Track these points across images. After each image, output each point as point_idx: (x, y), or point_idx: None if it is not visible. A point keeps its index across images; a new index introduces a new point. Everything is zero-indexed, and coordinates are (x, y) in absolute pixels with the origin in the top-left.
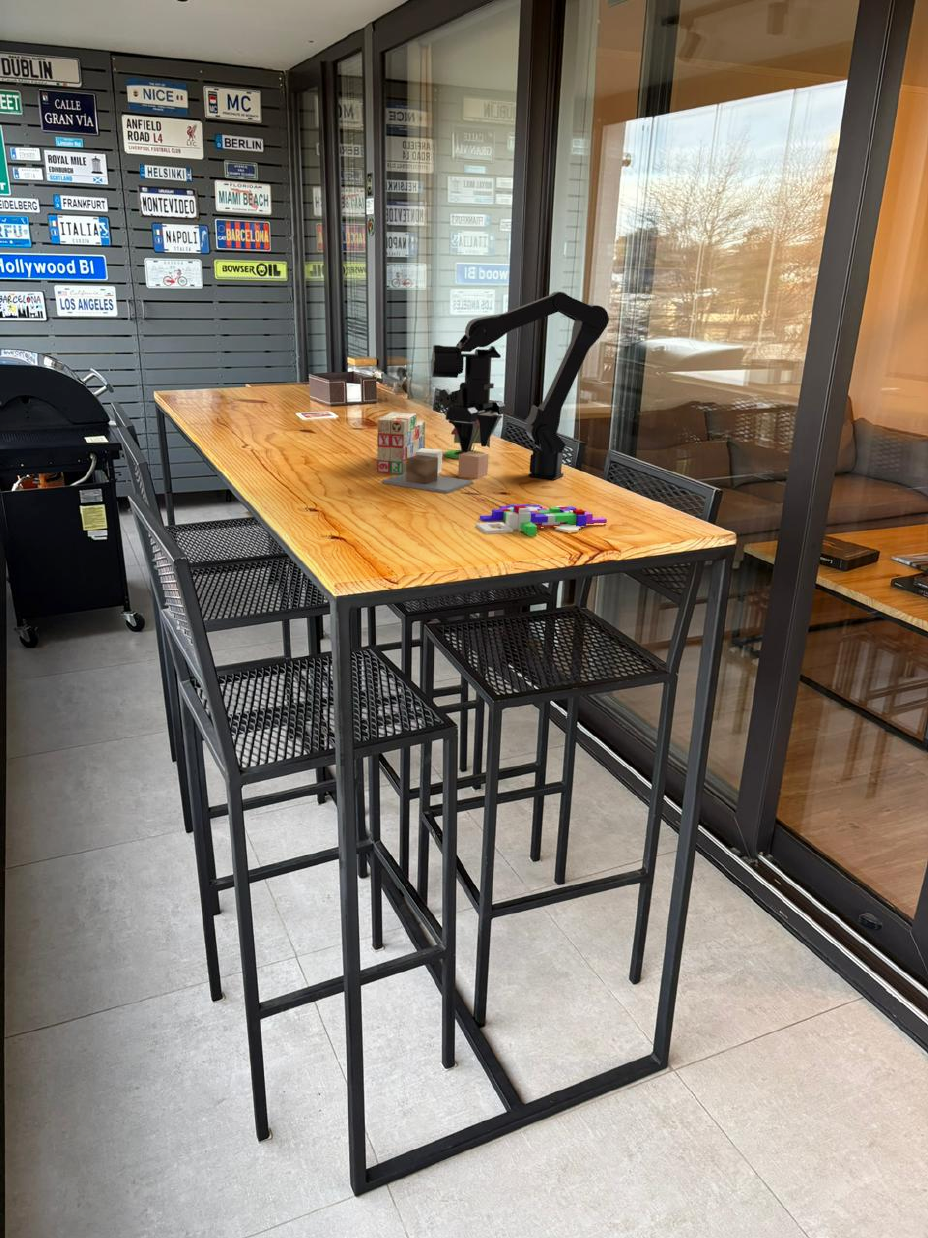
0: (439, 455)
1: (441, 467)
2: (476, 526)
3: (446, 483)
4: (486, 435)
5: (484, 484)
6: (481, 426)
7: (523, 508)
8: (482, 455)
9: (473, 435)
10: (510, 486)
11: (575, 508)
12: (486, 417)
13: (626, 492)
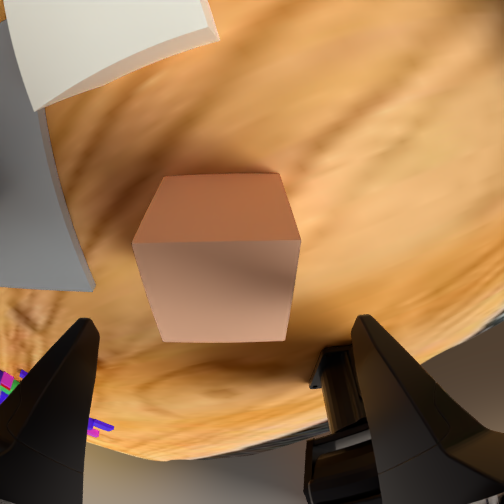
0: (116, 67)
1: (214, 40)
2: None
3: (3, 248)
4: (371, 397)
5: (120, 311)
6: (417, 431)
7: None
8: (219, 338)
9: (83, 443)
10: (163, 357)
11: (87, 429)
12: (423, 502)
13: (275, 435)
